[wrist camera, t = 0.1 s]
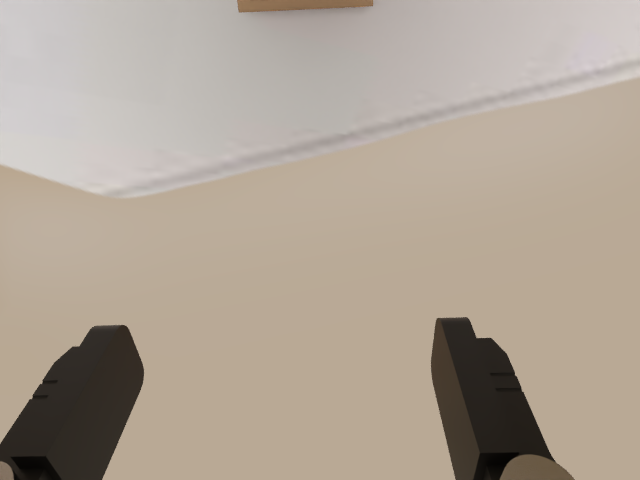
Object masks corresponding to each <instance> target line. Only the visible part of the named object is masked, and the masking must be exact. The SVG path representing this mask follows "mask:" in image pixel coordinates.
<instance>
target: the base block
mask: <svg viewBox="0 0 640 480" xmlns="http://www.w3.org/2000/svg"><path fill="white" fill-rule="evenodd" d="M237 2H238V10H239V12H259V11H280V10H301V9H322V8H344V7H365V6H373V0H237Z"/></svg>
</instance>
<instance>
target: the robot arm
mask: <svg viewBox="0 0 640 480" xmlns="http://www.w3.org/2000/svg"><path fill="white" fill-rule="evenodd" d="M431 372H432V380H433V385H434V390H435V394H436V398H437V402H438V406H439V410H440V415H441V419H442V424H443V427H444V432H445V436H446V440H447V444H448V448H449V453H450V457H451V462H452V466H453V470H454V474H455V479H456V480H574V478H573V477H572V476H571V475H570V474H569V473H568V472H567V471H566V470H565V469H564V468H563V467H561V466H560V465H559V464H557V463H556V462H555V460H554V459H553V457H552V456H551V454H550V452H549V450H548V448H547V446H546V443H545V441H544V439H543V436H542V434H541V432H540V429H539V427H538V425H537V422H536V420H535V418H534V416H533V413H532V411H531V409H530V407H529V404H528V402H527V399H526V397H525V395H524V392H522V390H521V386H520V383H519V381H518V379H517V377H516V376H515V372H514V370H513V367H512V365H511V363H510V360H509V358H508V356H507V354H506V353H505V352H504V351H503V350H502V349H501V348H500V347H499V346H498V345H497V343H496V342H495V341H494V340H493V339H491V338H476V336H475V333H474V330H473V328H472V325H471V322H470V320H469V319H468V318H467V317H463V318H437V320H436V325H435V333H434V341H433V350H432V357H431ZM143 377H144V369H143V364H142V361H141V359H140V356H139V354H138V351H137V349H136V346H135V344H134V341H133V338H132V336H131V333H130V331H129V329H128V327H127V326H125V325H111V326H94V327H92V328H91V329H90V331H89V332H88V334H87V335H86V337H85V338H84V340H83V342H82V343H81V345H80V346H79V347H72V348H71V349H70V350H68V351H67V352H66V353H65V354H64V355H63V356H61V357H60V359H58V360H57V361H56V362H55V363H54V364H53V365H52V367H51V369H50V370H49V372H48V373H47V375H46V376H45V378H44V379H43V383H42V384H40V385H39V387H38V388H37V390H36V391H35V393H34V394H33V398H32V399H30V400H29V402H28V403H27V405H26V406H25V408H24V409H23V411H22V412H21V414H20V415H19V417H18V418H17V420H16V421H15V423H14V424H13V426H12V428H11V429H10V430H9V432H8V433H7V435H6V436H5V438H4V439H3V441H2V442H1V444H0V480H102V478H103V476H104V474H105V471H106V469H107V467H108V464H109V462H110V460H111V457H112V455H113V453H114V450H115V448H116V446H117V443H118V441H119V439H120V437H121V434H122V432H123V430H124V427H125V425H126V422H127V420H128V418H129V415H130V413H131V411H132V409H133V406H134V404H135V401H136V399H137V397H138V395H139V392H140V390H141V387H142V384H143Z"/></svg>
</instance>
